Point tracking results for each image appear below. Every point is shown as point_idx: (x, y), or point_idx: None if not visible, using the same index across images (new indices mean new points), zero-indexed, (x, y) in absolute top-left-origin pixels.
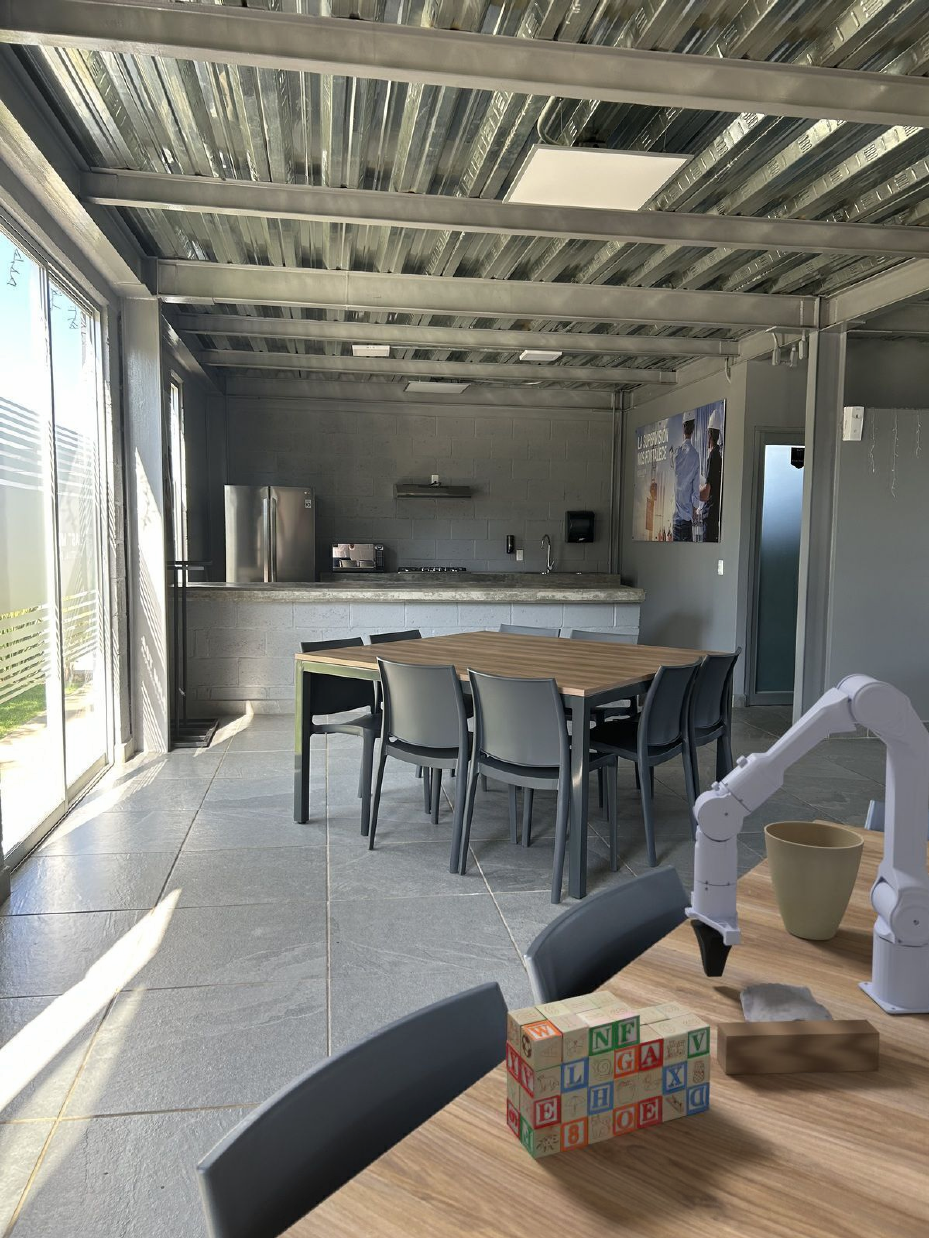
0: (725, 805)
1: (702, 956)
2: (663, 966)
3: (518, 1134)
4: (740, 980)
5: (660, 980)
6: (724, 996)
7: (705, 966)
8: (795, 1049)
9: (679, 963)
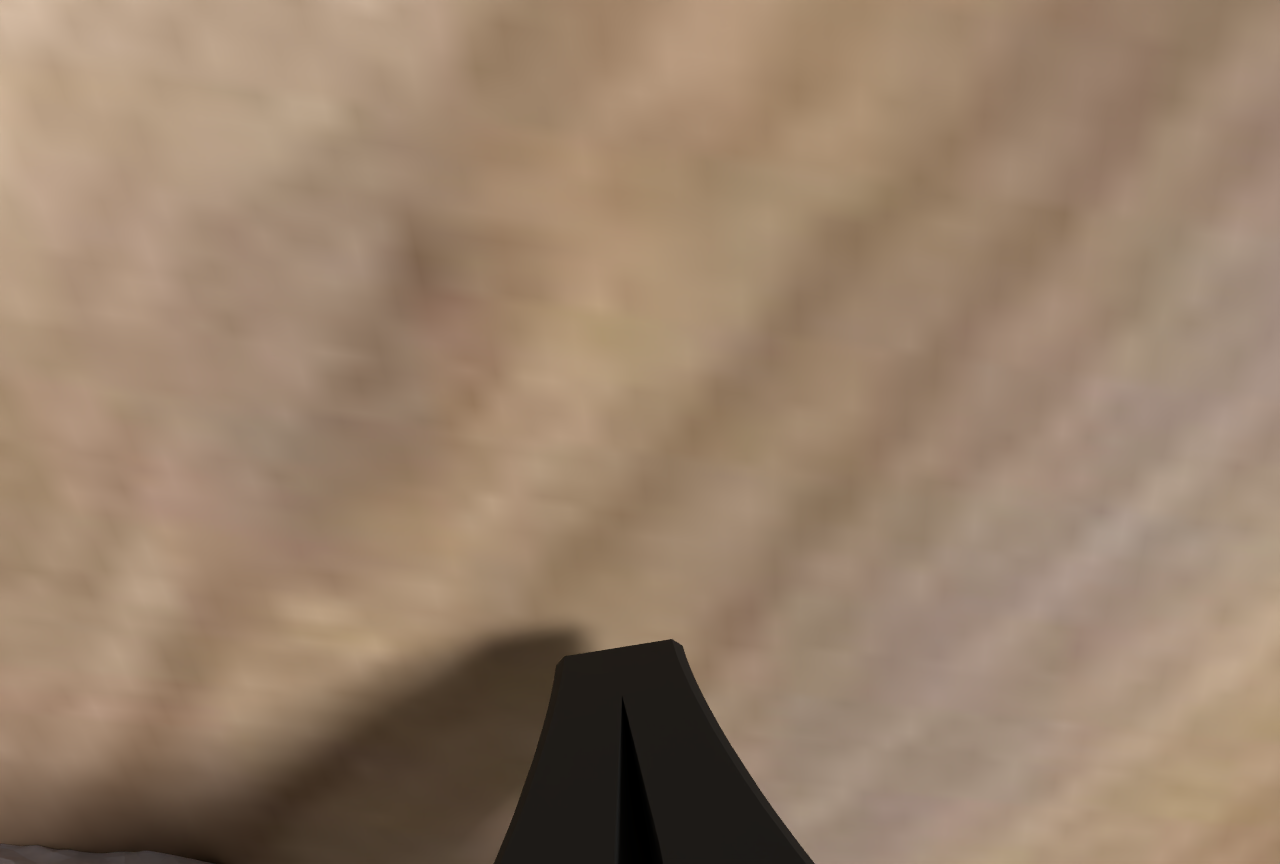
0: None
1: (659, 795)
2: (1126, 140)
3: None
4: None
5: (689, 26)
6: (360, 696)
7: (547, 736)
8: None
9: (1174, 360)
